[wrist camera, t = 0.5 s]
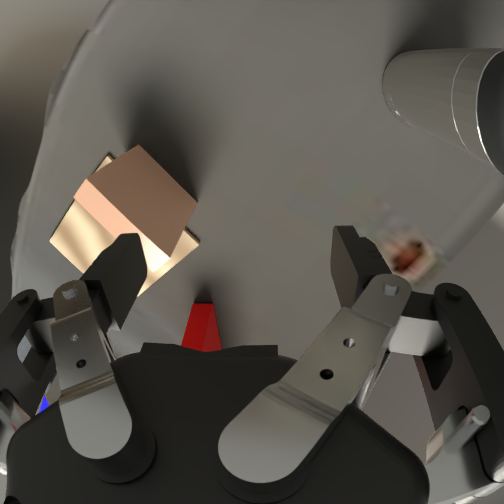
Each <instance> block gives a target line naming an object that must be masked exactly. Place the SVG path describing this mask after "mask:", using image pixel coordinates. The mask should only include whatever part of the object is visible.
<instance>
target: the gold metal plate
mask: <svg viewBox="0 0 504 504" xmlns="http://www.w3.org/2000/svg"><path fill="white" fill-rule="evenodd" d="M113 160H114V159H113V158H112V157H111V156H110V155H108V156H107V157H106V158H105V160H104V161H103V162H102V164H101V165H100V166H99V168H98V169H97V170H96V172H97V171H98V170H99V169H101V168H102V167H104V166H105V165H107V164H108V163H110V162H111V161H113ZM115 240H116V238H115V237H114V236H113V235H112V234H111V233H110V232H109V231H107V230H106V229H105V228H104V227H103V226H102V225H101V224H100V223H99V222H98V221H97V220H96V219H95V218H94V217H93V216H92V215H91V214H90V213H89V212H88V211H87V210H86V209H85V208H84V207H83V206H82V205H81V204H80V203H79V202H78V201H77V200H75V201H74V203H73V204H72V206H71V208H70V209H69V211H68V212H67V214H66V215H65V217H64V218H63V220H62V222H61V223H60V225H59V226H58V228H57V230H56V231H55V233H54V235H53V236H52V238H51V240H50V242H51V243H52V244H53V245H54V246H55V247H56V248H57V249H58V250H59V251H60V252H61V253H62V254H63V255H64V256H65V257H66V258H67V259H68V260H69V261H71V262H72V263H73V264H74V265H75V266H76V267H77V268H78V269H79V270H80V271H81V272H83V273H85V271H86V270H87V269H88V268H89V266H90V265H92V263H93V261H94V260H95V259H96V258H97V256H98V255H99V254H100V253H101V252H102V251H103V250H104V249H106V248H107V247H109V246H110V245H111V244H112V243H113V242H114V241H115ZM199 244H200V242H199V241H198V240H197V239H196V238H195V237H194V236H193V235H191V234H190V233H189V232H188V231H187V230H186V229H184V231H183V233H182V235H181V237H180V239H179V241H178V243H177V245H176V247H175V249H174V251H173V253H172V255H171V257H170V259H169V260H167V261H166V262H165V263H164V264H163V265H162V266H161V267H159V268H158V269H157V270H156V271H155V272H153V271H152V270H150V269H149V268H148V267H147V269H148V272H147V278H146V280H145V282H144V284H143V286H142V288H141V290H140V292H139V294H138V295H137V297H138V296H139V295H140V294H141V293H142V292H143V291H145V290H146V289H147V288H148V287H149V286H150V285H152V284H153V283H154V282H155V281H156V280H158V279H159V278H160V277H161V276H162V275H163V274H165V273H166V272H167V271H168V270H169V269H171V268H172V267H173V266H174V265H175V264H177V263H178V262H179V261H180V260H181V259H183V258H184V257H185V256H186V255H187V254H189V253H190V252H191V251H192V250H193V249H195V248H196V247H197V246H198V245H199Z"/></svg>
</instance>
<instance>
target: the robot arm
mask: <svg viewBox="0 0 504 504" xmlns="http://www.w3.org/2000/svg"><path fill="white" fill-rule="evenodd" d="M382 86H383V94H384V97H385V100H386V103H387V105H388V106H389V108H390V110H391V111H392V113H393V114H394V115H395V116H396V117H397V118H398V119H399V120H400V121H402V122H403V123H405V124H407V125H409V126H411V127H413V128H416V129H418V130H420V131H422V132H424V133H426V134H429V135H431V136H433V137H435V138H437V139H439V140H441V141H443V142H445V143H447V144H449V145H451V146H453V147H455V148H457V149H459V150H461V151H463V152H465V153H467V154H469V155H470V156H472V157H474V158H476V159H478V160H479V161H481V162H483V163H485V164H487V165H488V166H490V167H492V168H493V169H495V170H497V171H498V172H500V173H501V174H503V175H504V49H502V48H447V49H429V50H416V51H407V52H403V53H400V54H399V55H397V56H395V57H394V58H393V59H392V60H391V61H390V62H389V64H388V65H387V67H386V69H385V72H384V76H383V85H382ZM147 272H148V269H147V263H146V259H145V255H144V251H143V247H142V243H141V239H140V236H139V234H138V233H123V234H120V235H119V236H118V237H117V238H116V240H115V241H114V242H113V243H112V244H111V245H110V246H109V247H107V248H106V249H104V250H103V251H102V252H101V253H100V254H99V255H98V256H97V258H96V259H95V260H94V261H93V263H92V265H90V266H89V268H88V269H87V270H86V271H85V273H84V274H83V275H82V277H81V278H80V279H79V280H71V281H68V282H66V283H64V284H62V285H60V286H59V287H58V288H57V289H56V290H55V292H54V294H53V297H52V298H47V299H42V300H40V298H39V296H38V294H37V292H36V290H33V289H28V290H24V291H22V292H20V293H18V294H17V295H16V296H14V297H13V299H12V300H11V301H10V302H9V304H8V305H7V306H6V307H5V309H4V310H3V311H2V313H1V314H0V474H7V490H6V498H5V501H4V504H451V503H456V504H473V503H475V502H477V501H479V500H480V499H482V498H484V497H485V496H487V495H489V494H490V493H492V492H494V491H495V490H497V489H498V488H500V487H502V486H503V485H504V351H503V349H502V347H501V345H500V344H499V342H498V340H497V338H496V336H495V335H494V333H493V331H492V330H491V328H490V326H489V325H488V323H487V321H486V320H485V318H484V316H483V315H482V313H481V311H480V310H479V308H478V307H477V305H476V304H475V302H474V300H473V299H472V297H471V296H470V294H469V293H468V292H467V291H466V290H465V289H464V288H462V287H460V286H458V285H456V284H452V283H442V284H439V285H438V286H436V288H435V291H434V294H433V295H431V294H423V293H418V292H414V291H412V288H411V285H410V284H409V282H408V281H407V280H405V279H404V278H402V277H400V276H398V275H394V274H392V272H391V271H390V269H389V267H388V265H387V264H386V262H385V260H384V259H383V258H382V255H381V254H380V252H379V250H378V249H377V247H376V246H375V244H374V243H373V242H372V241H370V240H369V239H367V238H366V237H359V235H358V234H357V232H356V230H355V228H354V227H353V226H334V229H333V239H332V251H331V274H332V278H333V281H334V284H335V287H336V291H337V294H338V297H339V301H340V304H341V307H342V308H341V309H340V311H339V312H338V313H337V314H336V316H335V317H334V318H333V319H332V321H331V322H330V323H329V324H328V326H327V327H326V328H325V329H324V330H323V332H322V333H321V334H320V335H319V336H318V338H317V339H316V340H315V341H314V342H313V344H312V345H311V346H310V347H309V348H308V349H307V351H306V352H305V353H304V354H303V355H302V356H301V357H300V359H299V360H295V359H292V358H289V357H285V356H280V355H278V345H251V346H238V347H233V348H227V349H222V350H216V351H210V352H204V351H199V350H195V349H191V348H187V347H183V346H179V345H175V344H161V343H145V342H144V343H143V346H142V349H141V351H140V352H137V353H133V354H129V355H126V356H123V357H121V358H119V359H117V358H116V355H115V353H114V350H113V348H112V345H111V343H110V340H109V338H108V336H107V331H108V330H118V331H120V330H121V327H122V325H123V323H124V321H125V319H126V317H127V315H128V313H129V311H130V309H131V307H132V305H133V303H134V301H135V299H136V297H137V295H138V294H139V292H140V290H141V288H142V286H143V284H144V282H145V280H146V278H147ZM24 335H25V336H26V337H27V339H28V341H29V342H30V344H31V346H32V347H31V349H30V351H29V352H28V354H27V356H26V358H25V360H24V361H23V363H21V361H20V360H19V358H18V355H17V347H18V345H19V343H20V342H21V340H22V338H23V337H24ZM391 352H398V353H405V354H412V355H413V357H414V360H415V363H416V366H417V369H418V372H419V375H420V378H421V381H422V385H423V388H424V391H425V395H426V398H427V401H428V405H429V408H430V412H431V416H432V420H433V423H434V427H435V431H436V432H435V433H434V434H433V435H432V436H431V438H430V439H429V441H428V443H427V448H426V452H427V458H426V463H425V465H423V463H422V461H421V460H420V459H419V457H418V456H417V455H416V454H415V453H414V452H412V451H411V450H410V449H409V448H407V447H406V446H405V445H404V444H402V443H401V442H400V441H399V440H397V439H396V438H395V437H394V436H392V435H391V434H390V433H389V432H387V431H386V430H385V429H384V428H382V427H381V426H380V425H378V424H377V423H376V422H375V421H374V420H373V419H371V418H370V417H369V416H368V415H367V414H365V413H364V412H363V411H362V410H361V409H362V407H363V405H364V404H365V402H366V400H367V398H368V396H369V394H370V392H371V390H372V388H373V386H374V384H375V382H376V381H377V379H378V377H379V375H380V374H381V372H382V370H383V368H384V366H385V364H386V362H387V360H388V358H389V356H390V355H391ZM55 369H57V375H58V380H59V385H60V390H61V396H60V397H59V399H58V400H57V401H56V402H54V403H53V404H51V405H50V406H48V407H47V408H46V409H44V410H43V411H41V412H40V413H38V414H37V415H35V414H36V411H37V409H38V406H39V404H40V402H41V399H42V397H43V395H44V393H45V390H46V388H47V386H48V384H49V381H50V379H51V377H52V375H53V373H54V371H55Z"/></svg>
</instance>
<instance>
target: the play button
mask: <svg viewBox="0 0 504 504" xmlns="http://www.w3.org/2000/svg"><path fill="white" fill-rule="evenodd" d="M181 346H183V347H187V348H191V349H195V350H199V351H204V352H210V351H216V350H222V346H221V341H220V336H219V331H218V325H217V320H216V315H215V309H214V304H197V303H193V306H192V309H191V313H190V316H189V320H188V323H187V327H186V330H185V334H184V337H183V341H182V345H181Z"/></svg>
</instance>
